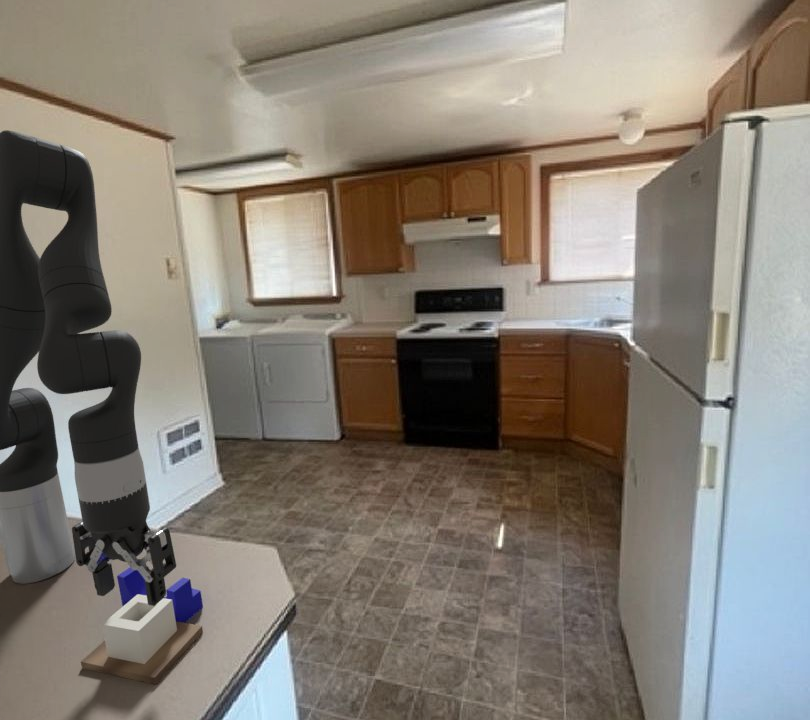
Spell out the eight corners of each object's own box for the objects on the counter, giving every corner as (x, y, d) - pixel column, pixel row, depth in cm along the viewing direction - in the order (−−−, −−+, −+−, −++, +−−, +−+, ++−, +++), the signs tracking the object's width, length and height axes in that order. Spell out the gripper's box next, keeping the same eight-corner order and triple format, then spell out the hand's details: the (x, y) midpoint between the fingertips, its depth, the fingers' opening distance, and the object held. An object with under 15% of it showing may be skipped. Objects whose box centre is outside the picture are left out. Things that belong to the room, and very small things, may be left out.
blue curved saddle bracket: (203, 607, 73) (197, 573, 72) (179, 628, 69) (173, 592, 68) (148, 591, 78) (142, 559, 77) (123, 609, 74) (117, 575, 73)
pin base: (82, 668, 63) (75, 638, 62) (135, 619, 71) (131, 593, 70) (155, 684, 59) (150, 653, 59) (202, 631, 68) (198, 603, 67)
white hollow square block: (142, 624, 69) (137, 594, 68) (177, 630, 67) (172, 599, 66) (108, 656, 63) (101, 624, 62) (144, 664, 62) (138, 630, 61)
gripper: (179, 478, 62) (194, 586, 65) (95, 469, 66) (113, 572, 69) (133, 505, 55) (152, 625, 58) (42, 494, 59) (64, 607, 62)
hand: (131, 596), depth 64 cm, fingers open, 8 cm apart
